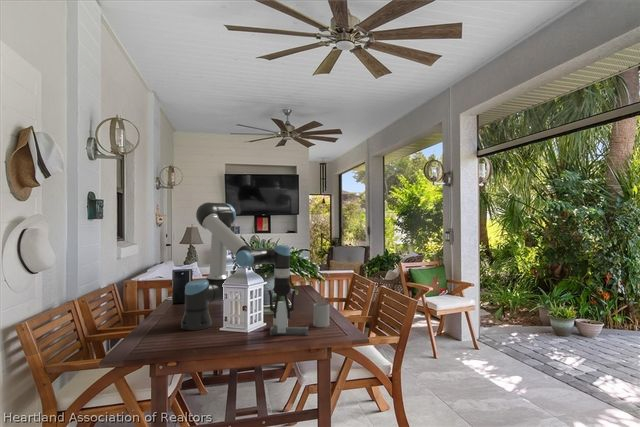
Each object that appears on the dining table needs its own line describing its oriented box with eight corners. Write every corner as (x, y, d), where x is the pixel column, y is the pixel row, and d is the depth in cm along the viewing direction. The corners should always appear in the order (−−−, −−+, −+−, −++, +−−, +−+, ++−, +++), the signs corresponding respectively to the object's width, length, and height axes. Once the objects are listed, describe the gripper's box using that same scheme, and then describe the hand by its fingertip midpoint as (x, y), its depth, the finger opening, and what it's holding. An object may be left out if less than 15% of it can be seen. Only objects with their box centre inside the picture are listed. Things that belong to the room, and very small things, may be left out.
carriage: (277, 332, 184) (277, 303, 184) (278, 330, 188) (278, 301, 188) (285, 332, 184) (285, 303, 184) (286, 330, 188) (286, 301, 188)
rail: (270, 335, 184) (270, 329, 184) (270, 332, 188) (270, 326, 188) (308, 335, 184) (308, 329, 184) (308, 332, 188) (308, 326, 189)
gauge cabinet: (273, 330, 192) (273, 316, 192) (274, 326, 198) (274, 313, 198) (287, 330, 192) (287, 316, 192) (287, 326, 198) (287, 313, 199)
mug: (330, 327, 198) (330, 306, 198) (313, 327, 197) (313, 306, 197) (327, 321, 210) (328, 301, 210) (312, 321, 209) (312, 301, 209)
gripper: (263, 278, 182) (263, 327, 182) (299, 278, 183) (299, 327, 182) (265, 275, 190) (265, 322, 189) (299, 275, 190) (299, 322, 190)
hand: (281, 324), depth 186 cm, fingers closed on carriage, 4 cm apart
